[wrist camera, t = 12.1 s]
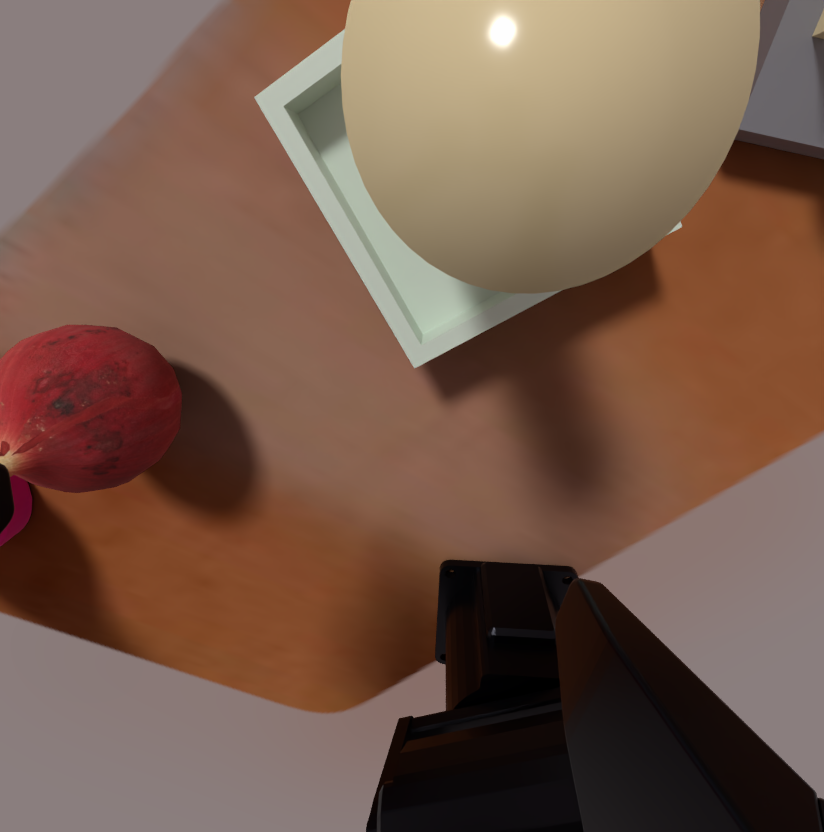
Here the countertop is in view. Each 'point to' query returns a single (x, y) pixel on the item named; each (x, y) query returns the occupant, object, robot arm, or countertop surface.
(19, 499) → the pepper mill
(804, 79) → the grey stand with brackets
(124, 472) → the onion
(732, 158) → the countertop surface
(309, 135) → the tray
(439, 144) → the white and tan post
